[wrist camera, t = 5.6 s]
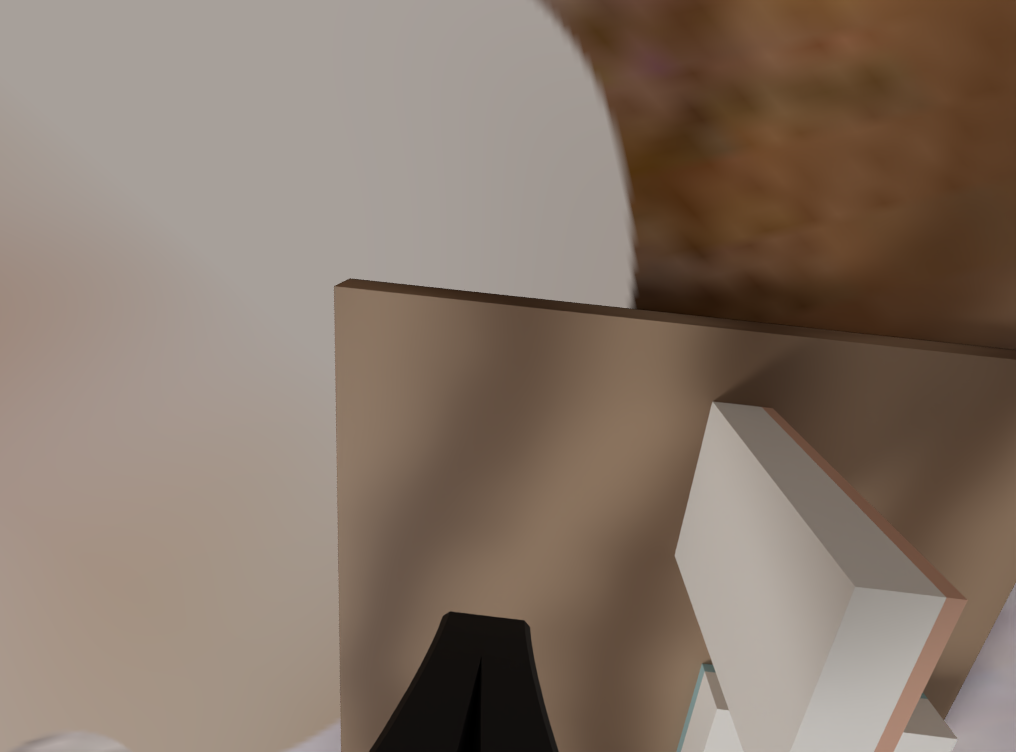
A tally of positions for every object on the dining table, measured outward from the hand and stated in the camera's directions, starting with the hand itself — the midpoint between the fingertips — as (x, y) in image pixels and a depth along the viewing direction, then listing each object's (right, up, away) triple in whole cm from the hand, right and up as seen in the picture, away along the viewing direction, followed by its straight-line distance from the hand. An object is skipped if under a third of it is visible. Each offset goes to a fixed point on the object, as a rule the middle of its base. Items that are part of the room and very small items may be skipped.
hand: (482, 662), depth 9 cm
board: (+5, -2, +9) cm, 11 cm away
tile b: (+6, +2, +6) cm, 9 cm away
